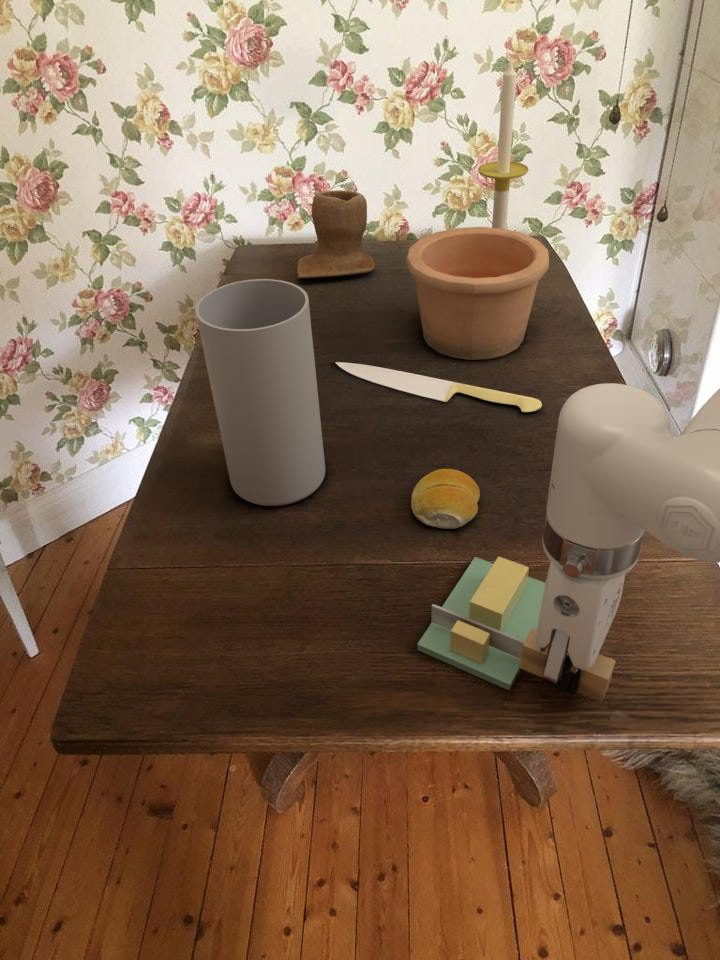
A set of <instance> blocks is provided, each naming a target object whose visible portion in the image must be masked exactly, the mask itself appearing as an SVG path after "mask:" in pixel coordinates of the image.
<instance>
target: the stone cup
mask: <svg viewBox="0 0 720 960" xmlns="http://www.w3.org/2000/svg"><path fill="white" fill-rule="evenodd" d="M311 218H312V223H313V228H314V232H315V235H316V239H317V246H318V247H317V250H316V251H315V252H314V253H312V254H307V255H304V256H303V257H301V258H300V259H299V260H298V262H297V267H296V274H297V278H298V279H321V278H334V277H335V278H337V277H346V276H354V275H361V274H367V273H370V272H372V271H373V270H374V269H375V261H374V259H373V258H372V257H371V256H370V255H369V254H367V253H365V252H363V251H362V248H363V247H362V246H363V239H364V238H363V237H364V235H365V232H366V227H367V222H368V203H367V199H366V197H365V195H364V194H362V193H360V192H357V191H352V190H341V189H339V190H338V189H337V190H326V191H320V192H317V193H315V194H314V196H313V200H312V203H311Z"/></svg>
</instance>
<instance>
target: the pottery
mask: <svg viewBox="0 0 720 960" xmlns="http://www.w3.org/2000/svg"><path fill="white" fill-rule="evenodd" d="M549 265H550V255H549V249H547V247H546V246H545V245H544V244H543V243H542V242H541V241H540V240H538V239H537V238H534V237H532V236H530V235H527V234H525V233H523V232H519V231H514V230H511V229H507V228H506V229H501V228H492V227H487V226H471V227H456V228H452V229H446V230H441V231H436V232H434V233H431V234H429V235H427V236H424V237H422V238H420V239H418V240H417V241H416V242H415V243H413V244H412V245H411V246H410V247H409V250H408V253H407V256H406V267H407V269H408V271H409V272H410V274H411V276H412V277H413V278H414V280H415V286H416V293H417V294H416V295H417V301H418V308H419V314H420V320H421V329H422V338H423V339H424V342H425V343H426V344H427V346H428V347H430V348H432V349H433V350H434V351H436V352H437V353H438V354H441V355H443V356H447V357H449V358H453V359H459V360H466V361H483V360H491V359H496V358H500V357H504V356H507V355H508V354H510V353H512V352H513V351H515V350H517V349H518V348H519V347H520V346H521V344H522V343H523V342H524V340H525V335H526V330H527V327H528V323H529V319H530V316H531V310H532V307H533V303H534V299H535V295H536V292H537V287H538V284H539V281H540V280H541V279H542V277H543V276H544V275H545V274H546V272H547V271H548V270H549V267H550V266H549Z"/></svg>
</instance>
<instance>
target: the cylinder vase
mask: <svg viewBox="0 0 720 960" xmlns="http://www.w3.org/2000/svg"><path fill="white" fill-rule="evenodd" d="M310 310H311V309H310V301H309V295H308V293H307V291H306V290H304V288H302V287H301V286H299V285H297V284H295V283H292V282H290V281H286V280H280V279H272V278H271V279H270V278H253V279H246V280H241V281H240V280H239V281H235V282H231V283H228V284H224V285H221V286H219V287H217V288H215V289H213V290H211V291H209V292H208V293H206V294H205V295H204V296H203V297H201V298H200V299H199V300H198V302H197V303H196V306H195V310H194V312H195V317H196V322H197V326H198V330H199V336H200V340H201V346H202V351H203V355H204V361H205V365H206V369H207V374H208V380H209V384H210V390H211V394H212V399H213V404H214V410H215V413H216V419H217V423H218V429H219V435H220V439H221V444H222V447H223V453H224V457H225V462H226V467H227V473H228V477H229V483H230V485H231V488H232V489H233V491H234V492H235V494H236V495H238V497H240V498H241V499H243V500H245V501H246V502H249V503H251V504H254V505H258V506H263V507H280V506H286V505H290V504H294V503H297V502H300V501H302V500H304V499H306V498H307V497H309V496H310V495H312V494H314V492H315V491H317V489H318V488H319V487H320V486H321V485H322V483H323V481H324V479H325V475H326V461H325V460H326V459H325V452H324V451H325V450H324V443H323V430H322V421H321V411H320V401H319V400H320V399H319V391H318V381H317V371H316V370H317V369H316V361H315V352H314V350H315V349H314V341H313V340H314V339H313V332H312V330H313V329H312V321H311V312H310Z"/></svg>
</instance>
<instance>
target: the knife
mask: <svg viewBox="0 0 720 960" xmlns="http://www.w3.org/2000/svg"><path fill="white" fill-rule="evenodd" d="M334 363H335V364H336V365H337V366H338V368H340V369H342V370H343V371H345V372H346V373H348V374H351V375H353V376H355V377H357V378H359V379H363V380H366V381H369V382H371V383H374V384H378V385H381V386H384V387H388V388H391V389H394V390H398V391H401V392H405V393H409V394H413V395H416V396H419V397H422V398H423V397H424V398H427V399H432V400H435V401H440V402H444V403H447V402H449V400H450V399H451V398H452V397H453V396H454V395H455V394H457V393H461V394H464V395H467V396H471V397H474V398H477V399H480V400H484V401H488V402H492V403H496V404H497V403H498V404H505V405H513V406H517V407H518V408H519V409H520V411H521V412H522V413H530V412H537V411H538V410H540V409H541V408H542V406H543V402H542V401H541V400H540V399H538V398H535V397H531V396H526V395H521V394H516V393H512V392H511V393H510V392H506V391H500V390H496V389H492V388H491V389H490V388H486V387H482V386H481V387H480V386H475V385H471V384H466V383H461V382H456V381H451V380H446V379H442V378H441V379H440V378H436V377H431V376H426V375H421V374H416V373H411V372H407V371H401V370H396V369H391V368H385V367H380V366H375V365H369V364H363V363H354V362H353V363H352V362H343V361H342V362H341V361H336V362H334Z"/></svg>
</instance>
